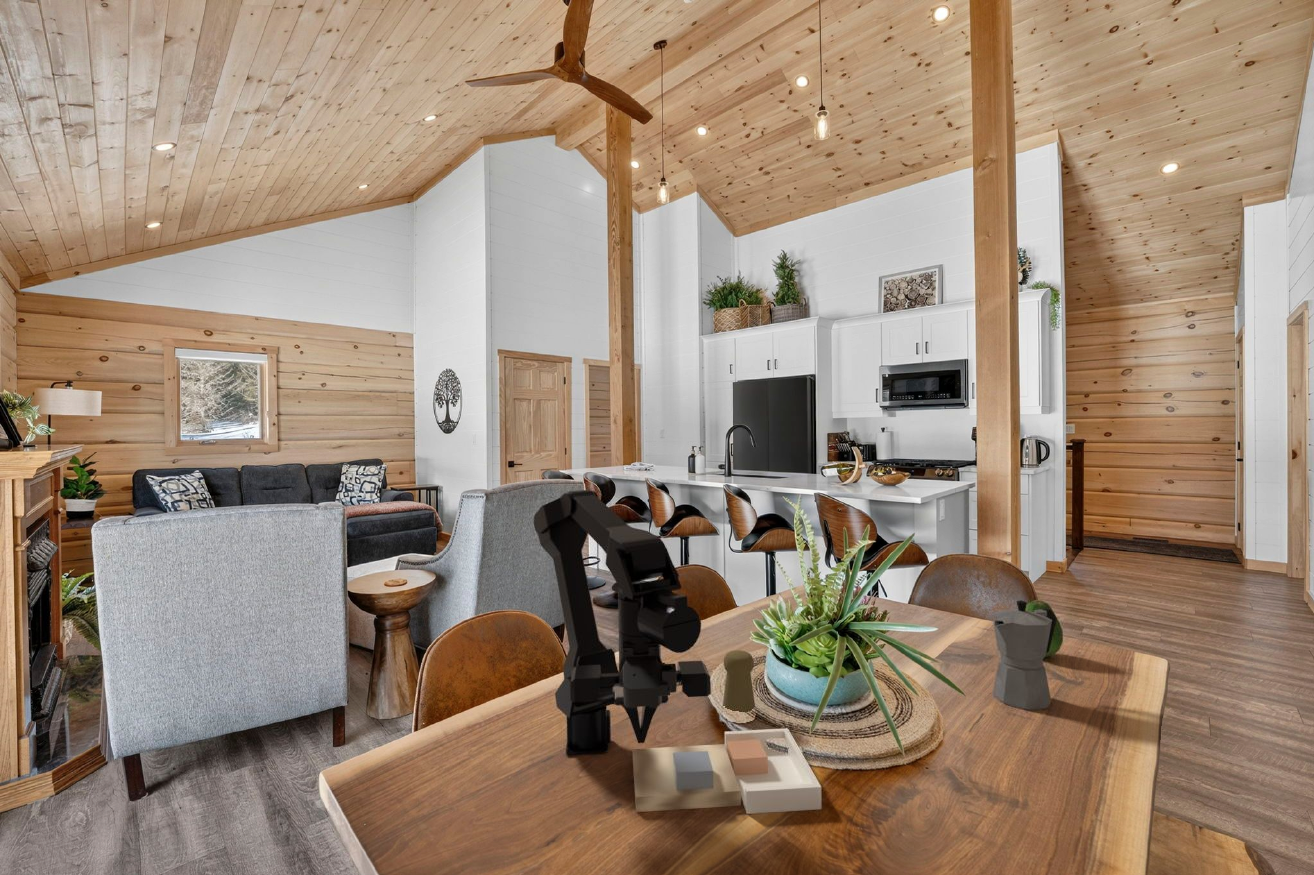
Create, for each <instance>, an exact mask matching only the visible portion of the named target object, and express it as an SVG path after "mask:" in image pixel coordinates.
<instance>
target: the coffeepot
mask: <svg viewBox="0 0 1314 875" xmlns="http://www.w3.org/2000/svg"><path fill="white" fill-rule="evenodd" d="M1027 605H1028V602H1027V601H1025V600H1022V599H1021V600H1017V601H1016V606H1017V609H998V610H996V611H995V612H994V613H992V614H991V615H992V621H993V628H994V634H995V640H996V646H997V648H996V649H997V651H999V652H1000V659H999V661H998V664H997V669H996V673H995V679H994V682H993V688H992V693H991V694H992V695H993V696H994V697H995V698H996V700H998V701H999V702H1001V703H1003V704H1005V705H1007V706H1009V707H1013V708H1017V709H1021V710H1026V711H1028V710H1029V711H1041V710H1042V711H1043V710H1046V709H1047V708H1048V707H1050V704H1051V702H1052V698H1051V693H1050V688H1049V687H1050V686H1049V682H1048V678H1047V677H1048V676H1047V672H1046V667H1045V666H1044V659H1045V658H1046V657H1045V655H1046V653H1048V652H1049V650H1050V646H1051V642H1052V638H1053V633H1054V629H1055V625H1056V621H1057V619H1058V617H1057V615H1056V614H1054V613H1055V612H1054V611H1053V612H1054V613H1053V612H1052V610H1053V609H1052V608H1051V609H1052V610H1051V609H1048V608H1047V609H1043V610H1040V609H1039V610H1034V612H1030V611H1025V610H1026V607H1027ZM1055 615H1056V616H1055ZM1056 617H1057V618H1056Z"/></svg>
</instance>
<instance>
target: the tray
mask: <svg viewBox="0 0 1314 875" xmlns="http://www.w3.org/2000/svg"><path fill="white" fill-rule="evenodd" d="M770 738H785V740H786V742H787V743H788V745H789V749H788V755H786V754H783V753H780V752H777V751H774V750H772V749H768V748H769V747H768V745H767V743H766V742H765V741H766V740H767V739H770ZM756 739H759V741H760V743H761V745H762V747H763V749H764V751H765V753H766V755H767V757H768V773H766V774H751V775H737V776H736V779H737V782H738V785H739V788H740V790H741V802H742V804H743V807H744V810H745V813H746V814H747V815H749V814H751V815H752V814H765V813H766V814H767V813H785V812H786V813H787V812H799V811H814V810H822V785H821V783H820V782H819V781H818V779H817V777H816V775H815V773H814V772H813V770H812V768H811V766H810V764H809V763H808V761H807V759H806V757H805V756H804V754H803V753H802V751H801V749H800V748H799V746H798V744H797V742H796V740H795V739H794V737H793V735H792V733H791V731H790V730H789V728H787V727H786V728H770V729H753V730H752V729H749V730H748V729H747V730H731V731H724V745H725V748H726V751H727V741H740V740H756Z"/></svg>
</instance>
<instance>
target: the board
mask: <svg viewBox="0 0 1314 875" xmlns="http://www.w3.org/2000/svg"><path fill="white" fill-rule="evenodd" d="M698 751H708V754H709V757H710V761H711V764H712V768H713V788H709V789H691V790H676V784H675V779H674V773H673V753H678V752H698ZM632 772H633V788H634V800H635V801H634V803H635V804H634V805H635V813H642V812H644V813H645V812H658V811H659V812H660V811H674V810H675V811H676V810H677V811H678V810H691V809H707V808H724V807H741V804H742V803H741V802H742V799H741V790H740V788H739V785H738V782H737V779H736V776H735V773H734V771H733V768H732V765H731V762H730V759H729V756H728V753H727V751H726V748H725V743H722V744H721V743H720V744H705V745H704V744H703V745H702V744H701V745H686V746H685V745H683V746H667V747H665V746H664V747H650V748H649V747H647V748H632Z"/></svg>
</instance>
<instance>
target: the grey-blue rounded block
mask: <svg viewBox="0 0 1314 875" xmlns="http://www.w3.org/2000/svg"><path fill="white" fill-rule="evenodd" d="M673 773H674V779H675V784H676V790H691V789H709V788H713V768H712V764H711V761H710V757H709V754H708V751H698V752H678V753H673Z"/></svg>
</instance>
